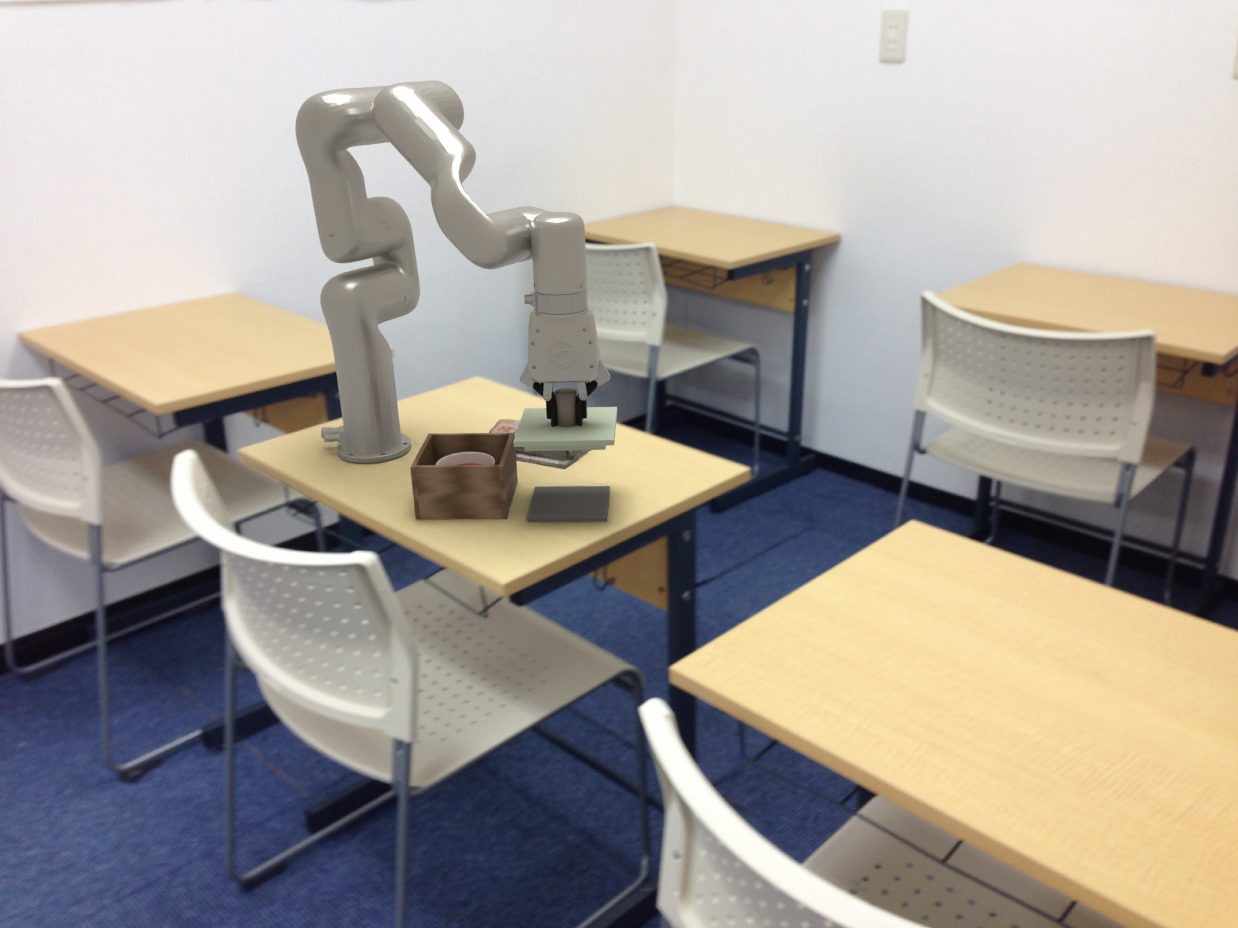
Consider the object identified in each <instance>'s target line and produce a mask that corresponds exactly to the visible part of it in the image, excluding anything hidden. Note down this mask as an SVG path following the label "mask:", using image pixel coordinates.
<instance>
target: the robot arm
mask: <svg viewBox="0 0 1238 928" xmlns="http://www.w3.org/2000/svg"><path fill="white" fill-rule="evenodd" d="M464 120H465V111H464V105H463V102H462V100H461V98H460V96H459V95H458V93H457V92H456V91H455V89H453V88H452V86H450V85H448V84H447V83H445V82H443V81H440V80H422V81H407V82H406V81H405V82H397V83H393V84H390V85H379V86H366V87H349V88H348V87H347V88H337V89H330V90H325V91H321V92H318V93H315V94H313V95H311V96H310V97H308V98H307V99H306V100H305V101H303V102H302V104H301V106H300V108H299V109H298V111H297V115H296V118H295V139H296V142H297V147H298V150H299V153H300V156H301V158H302V162H303V164H304V167H305V170H306V174H307V176H308V177H307V178H308V181H309V187H310V192H311V193H310V194H311V200H312V206H313V211H314V212H313V213H314V217H315V221H316V222H315V224H316V227H317V228H316V229H317V233H318V238H319V243H320V246H321V250H322V252H323V254H324V255H325V257H326V258H327V259H328V260H329V261H331V262H333V263H336V264H350V263H351V264H352V263H356V262H361V261H365V260H369V259H372V262H373V265H369V266H364V267H359V268H356V269H352V270H349V271H344V272H342V273H339V274H337V275H336V274H335V276H332V277H331V278H330V279H328V280H327V281H326V283H325V284H324V285H323V286H322V289H321V292H320V296H319V297H320V299H319V300H320V301H319V302H320V307H321V311H322V314H323V317H324V320H325V323H326V326H327V329H328V332H329V333H328V334H329V337H330V341H331V345H332V353H333V359H334V366H335V372H336V377H337V378H336V379H337V387H338V393H339V403H340V410H341V419H342V425H339V427H332V426H327V427H326V426H325V427H321V429H320V435H321V439H323V440H324V443H332V442H337V443H338V445H337V447H336V450H337V455H338V457H340V459H342V460H343V461H344V460H345V461H347V462H351V463H356V464H357V463H359V464H371V463H381V462H386V461H391V460H394V459H398V458H400V457H402V456H403V455H404V454H407V452H409V451H410V449H411V448H412V447H411V446H412V442H411V439H410V437H408V436H407V435H405V434H404V433H402V432H401V425H400V415H399V407H398V396H397V388H396V378H395V371H394V370H395V369H394V362H393V354H392V349H391V346H390V344H389V342H388V340H387V339H386V338H385V336H384V334H382V331H380V329H379V325H380V324H382V323H385V322H388V321H392V320H395V319H398V318H400V317H404V316H406V315H408V314H410V313H412V312H413V311H414V310H415V309H416V308H417V306H418V305H419V302H420V296H421V286H420V278H419V277H420V276H419V271H418V261H417V256H416V249H415V241H414V235H413V234H414V233H413V229H412V225H411V222H410V219H409V217H408V214H407V212H406V210H404V208H403V207H402V206H401V204H400V203H399V202H398V201H396V200H394V199H393V198H390V197H388V196H387V197H386V196H374V197H368V195H367V189H366V183H365V182H366V181H365V176H364V174H363V171H362V168H361V166H359V164H358V163H359V162H357V160H356V159H355V157H354V156H353V155H352V154H351V152H349V150H348V149H349V148H353V147H360V146H370V145H378V144H386V143H387V144H388V143H390V144H391V146H393V147H394V149H395V150H396V151H397V152H398V153H399V154H400V155H401V156H402V157H403V158H404V160H405V161H407V162H408V163H409V165H410V166H411V167H412V168H413V169H414V170H415V171H416V172H417V174H418V175H420V177H421V178H423V180H424V181H425V182H426V183H427V184H428V186H429V187H430V202H431V207H432V210H433V213H434V218H435V220H436V223H437V225H438V228H439V229H440V230H441V233H442V234H443V235H444V236H445V237H446V239H448V240H449V241H450V243H451V244H452V245H453V246H454V247H455V248H456V249H457V250H458V251H459V252H460V253H461V255H463V256H464V257H465V258H466V259H467V260H468V261H470V263H472V264H474V265H475V266H476V267H478V268H481V269H484V270H497V269H500V268H504V267H507V266H511V265H514V264H517V263H521V262H526V261H530V260H532V263H531V264H532V277H533V278H532V279H533V291H532V293H529V294H524V305H530V306H532V308H534V309H533V310H532V311H531V312H530V313H529V319H528V328H527V363H526V365H525V367H524V369H523V371H522V373H521V374H520V376H519V382H520V383H521V384H523V385H526V386H528V387H529V388H532V389H533V390H534V391H536V393H538V394H539V395H540V396H541V397H542V398H543V400H544V401H545V408H546V414H547V419H551V426H555V425H557V420H556V401H555V391H554V383H555V384H557V383H561V384H562V383H576V385H577V386H576V387H577V399H576V414H577V425H578V426H582V422H583V419H587V407H588V404H587V403H588V402H587V399H588V397H589V396H591V394H592V393H593V392H594V391H595V390H596V389H597V388H598V387H600V386H602V385H604V384H605V383H608V382H610V380H611V374H610V372H609V370H608V369H607V367H606V365H605V364H604V362H603V361H602V359H601V357H600V351H599V350H600V349H599V348H600V347H599V339H598V332H597V331H598V330H597V325H596V319H595V316H594V312H593V309H592V308H591V307H589V302H588V279H587V275H588V274H587V253H586V252H587V251H586V229H585V221H584V219H583V217H582V216H580V215H579V214H578V213H574V212H570V211H569V212H568V211H553V212H552V211H550V210H546V209H542V208H539V207H537V206H536V207H535V206H530V205H529V206H528V205H527V206H525V205H524V206H517V207H514V208H513V207H512V208H508V209H505V210H504V209H503V210H499V211H494V212H490V213H486V212H485V211H483V210H482V209H481V207H479V206H478V205H477V203H476V202H475V200H473V199H472V198H471V197H470V195H469V194H468V193H467V192H466V190H465V189H464V187H463V183H464V181H466V179H467V178H468V177H469V176H470V174H471V173H472V170H473V169H474V166H475V164H476V160H477V153H476V150H475V147H474V145H472V144H471V142H470V141H469V140H468V139H467V138H466V137H465V136H464V135H463V134H462V133H461V132H460V131H459V130H460V129H461V128H462V126H463V124H464Z"/></svg>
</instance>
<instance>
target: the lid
mask: <svg viewBox="0 0 1238 928" xmlns="http://www.w3.org/2000/svg"><path fill="white" fill-rule="evenodd" d="M554 393H555V401H556V420H557V425H555V426H551V419H547V414H546V407H537V408H536V407H531V408H529V407H528V408H527V407H526V408H524V409H523V412H522V415H521V417H520V418H521V419H520V420H519V421H520V423H519V426H518V429H517V432H516V435H515V438H514V441H513V444H514V447H524V449H525V451H559V450H590V451H606V450H607V449H606V448H607V446H615V442H616V441H615V440H616V430H617V429H616V428H617V420H618V419H617V417H618V406H598V407H597V406H591V407H589V406H587V419H583V422H582V426H578V425H577V414H576V399H577V395H578V390H577V389H575V388H571V387H570V388H568V387H563V388H558V389H556V390H555V391H554Z"/></svg>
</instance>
